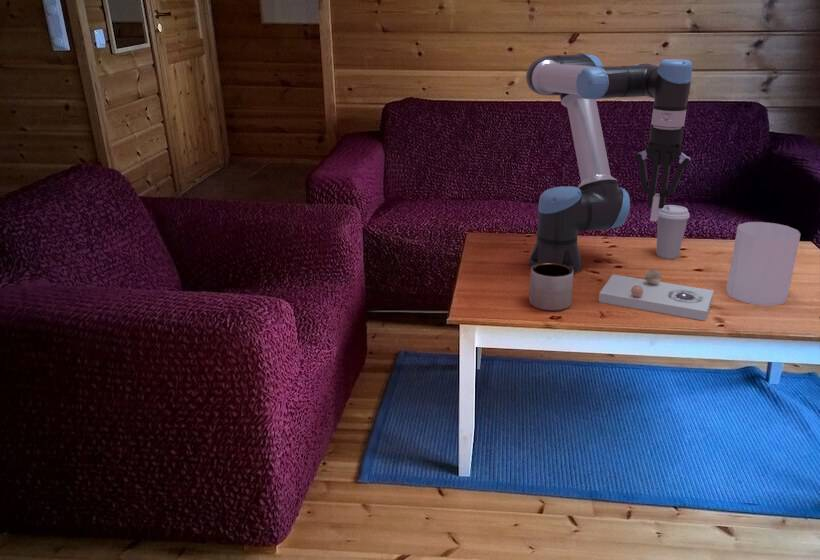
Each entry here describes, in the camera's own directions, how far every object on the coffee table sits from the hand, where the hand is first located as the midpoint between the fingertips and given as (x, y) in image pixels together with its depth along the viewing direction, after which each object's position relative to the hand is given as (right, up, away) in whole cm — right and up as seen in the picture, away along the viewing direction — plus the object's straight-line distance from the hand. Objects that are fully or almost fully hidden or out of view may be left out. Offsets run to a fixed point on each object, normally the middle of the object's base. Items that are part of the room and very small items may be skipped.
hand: (654, 219), depth 172 cm
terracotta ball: (-4, -18, 0) cm, 19 cm away
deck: (+2, -21, +4) cm, 21 cm away
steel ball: (+8, -20, 0) cm, 22 cm away
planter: (-26, -22, +3) cm, 34 cm away
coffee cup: (+17, -8, +36) cm, 41 cm away
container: (+30, -20, +7) cm, 36 cm away
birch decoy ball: (+2, -15, +7) cm, 17 cm away
